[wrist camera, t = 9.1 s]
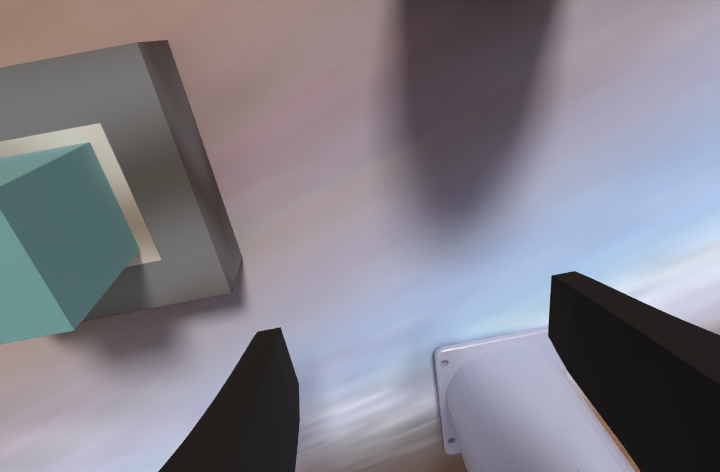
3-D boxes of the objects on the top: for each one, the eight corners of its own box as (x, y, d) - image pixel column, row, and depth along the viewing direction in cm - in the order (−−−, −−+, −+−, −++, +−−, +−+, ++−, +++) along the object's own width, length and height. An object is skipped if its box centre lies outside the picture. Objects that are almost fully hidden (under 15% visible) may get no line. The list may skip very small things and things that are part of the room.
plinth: (242, 258, 21) (231, 293, 18) (44, 296, 20) (2, 337, 18) (167, 40, 16) (136, 42, 13) (-89, 87, 16) (-172, 99, 13)
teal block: (139, 249, 17) (74, 330, 12) (31, 269, 16) (-75, 358, 12) (89, 141, 15) (-11, 191, 10) (-35, 164, 14) (-191, 224, 10)
